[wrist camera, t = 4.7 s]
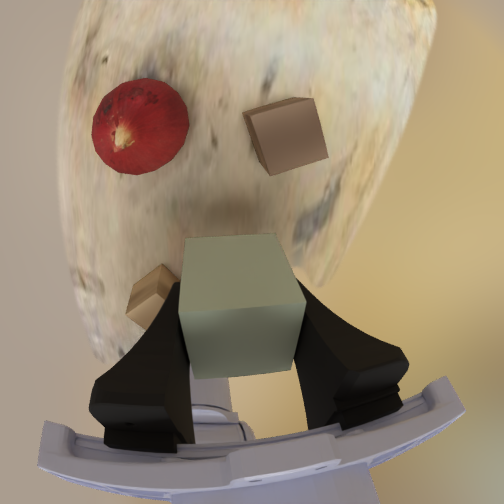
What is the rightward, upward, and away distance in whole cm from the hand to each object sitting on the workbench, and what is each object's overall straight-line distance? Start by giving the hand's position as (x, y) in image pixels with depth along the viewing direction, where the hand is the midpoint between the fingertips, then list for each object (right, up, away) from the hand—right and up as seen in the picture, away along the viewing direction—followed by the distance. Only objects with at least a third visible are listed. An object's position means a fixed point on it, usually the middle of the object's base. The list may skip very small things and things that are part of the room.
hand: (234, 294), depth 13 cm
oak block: (-8, -1, +11) cm, 14 cm away
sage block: (0, +1, +1) cm, 2 cm away
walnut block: (+3, +11, +5) cm, 13 cm away
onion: (-6, +11, +4) cm, 14 cm away
